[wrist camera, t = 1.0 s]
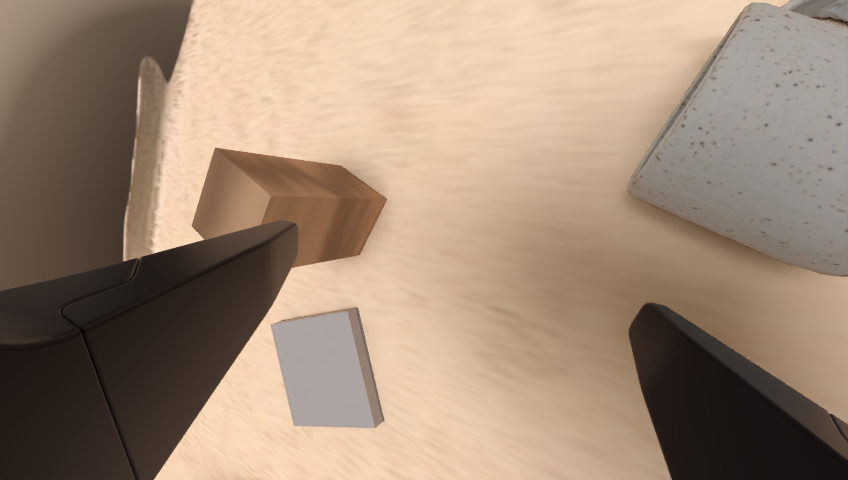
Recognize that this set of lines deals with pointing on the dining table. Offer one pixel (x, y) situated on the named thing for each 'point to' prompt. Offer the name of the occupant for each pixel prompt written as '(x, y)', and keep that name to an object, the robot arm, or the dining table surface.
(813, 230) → the ceramic mug
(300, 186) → the walnut post
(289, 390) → the upper grey slab
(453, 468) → the dining table surface
